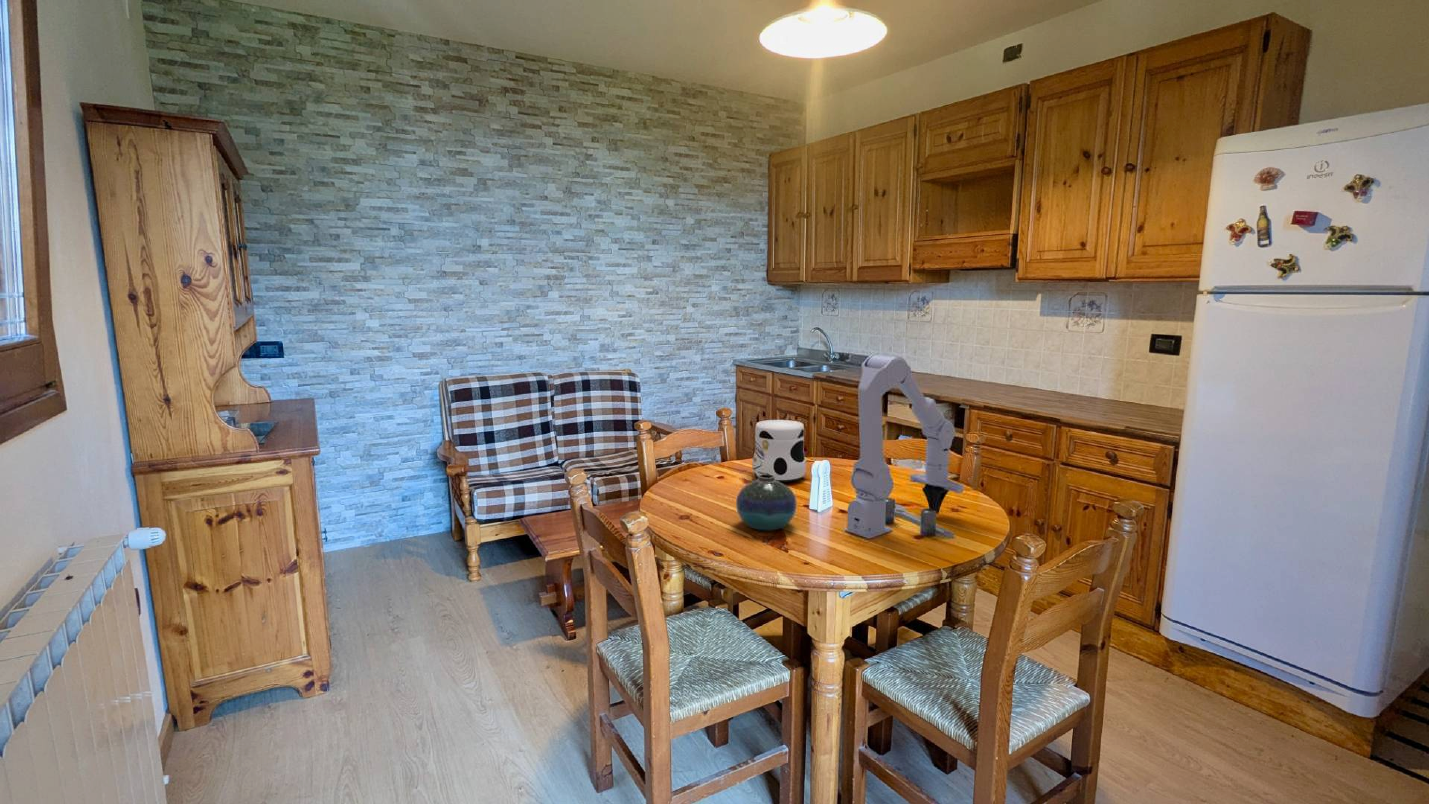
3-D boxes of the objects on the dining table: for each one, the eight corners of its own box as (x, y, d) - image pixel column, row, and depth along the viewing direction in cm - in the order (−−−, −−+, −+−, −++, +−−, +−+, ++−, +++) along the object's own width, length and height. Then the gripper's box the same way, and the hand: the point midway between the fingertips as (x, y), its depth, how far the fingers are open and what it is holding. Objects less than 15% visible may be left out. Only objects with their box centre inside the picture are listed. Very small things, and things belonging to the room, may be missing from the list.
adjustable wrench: (956, 539, 163) (956, 532, 163) (934, 543, 161) (934, 535, 161) (896, 508, 187) (896, 502, 186) (876, 511, 185) (876, 505, 184)
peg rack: (929, 537, 163) (931, 514, 162) (877, 521, 175) (878, 499, 174) (938, 534, 165) (939, 511, 164) (885, 518, 177) (886, 496, 176)
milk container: (741, 478, 217) (741, 423, 214) (777, 469, 228) (777, 417, 226) (781, 489, 204) (782, 431, 202) (816, 479, 216) (818, 424, 213)
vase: (803, 535, 165) (804, 482, 163) (742, 538, 163) (743, 485, 161) (787, 515, 180) (787, 467, 178) (730, 518, 178) (731, 469, 176)
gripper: (970, 466, 173) (967, 516, 175) (921, 456, 184) (919, 503, 186) (956, 470, 168) (953, 522, 170) (906, 460, 179) (904, 508, 181)
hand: (934, 513), depth 178 cm, fingers closed
